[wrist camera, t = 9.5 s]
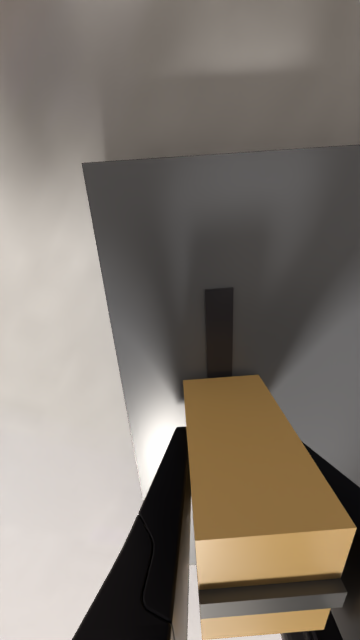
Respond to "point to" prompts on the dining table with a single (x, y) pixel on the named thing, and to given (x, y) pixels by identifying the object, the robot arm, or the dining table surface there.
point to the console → (234, 288)
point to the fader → (259, 515)
